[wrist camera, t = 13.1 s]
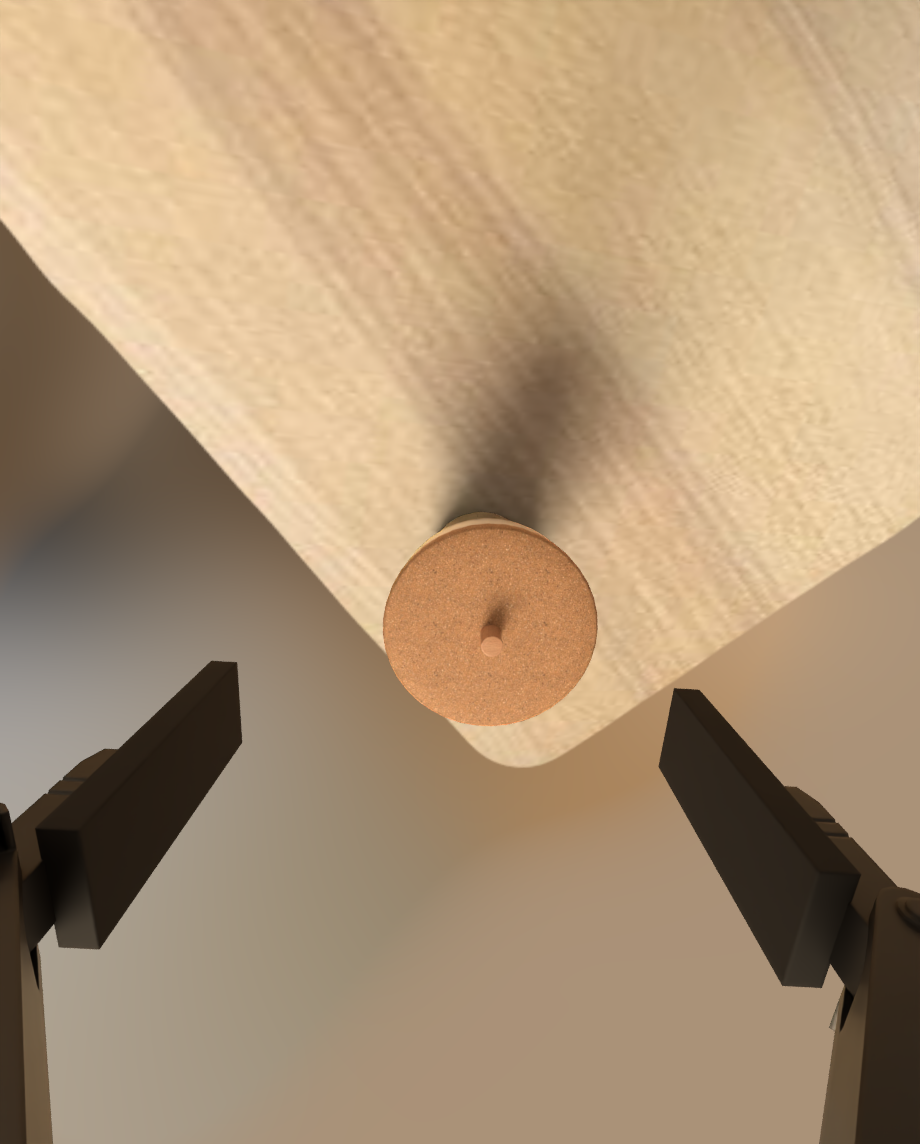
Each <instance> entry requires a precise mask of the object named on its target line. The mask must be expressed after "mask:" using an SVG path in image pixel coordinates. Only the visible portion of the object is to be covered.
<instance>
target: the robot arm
mask: <svg viewBox="0 0 920 1144" xmlns="http://www.w3.org/2000/svg"><path fill="white" fill-rule="evenodd" d="M241 743H242V732H241V716H240V700H239V685H238V670H237V662H222V661H211V662H210V663H209V664H208V665H206V667H204V668H203V669H202V670H201V671H200V672H199V673H198V674H197V675H196V676H195V677H194V678H193V679H192V680H191V681H190V682H189V683H188V684H186V685H185V686H184V687H183V688H182V689H181V690H180V691H179V692H178V693H177V694H176V695H175V696H174V697H173V698H172V699H171V700H170V701H169V702H167V703H166V704H165V705H164V706H163V707H162V708H161V709H160V710H159V711H158V712H157V713H156V714H155V715H154V716H153V717H152V718H151V719H150V720H149V721H148V722H146V723H145V724H144V725H143V726H142V727H141V728H140V729H139V730H138V731H137V732H136V733H135V734H134V735H133V736H132V737H131V738H130V739H129V740H128V741H126V742H125V743H124V744H123V745H122V746H121V747H120V748H119V749H103V750H102V751H100V752H98V753H96V754H94V755H92V756H90V757H89V758H87V759H85V760H83V761H81V762H80V763H79V764H78V765H77V766H75V767H74V768H73V769H72V770H71V771H70V772H69V773H68V774H66V776H64V777H63V780H62V781H61V780H60V781H59V782H58V783H56V784H55V785H54V786H53V787H52V788H51V789H50V790H49V792H48V794H44V795H43V796H42V797H41V798H40V799H38V800H37V801H36V802H35V803H34V804H33V805H32V806H30V807H29V808H28V809H27V810H26V811H25V812H24V813H23V814H21V815H20V816H19V817H18V818H17V819H16V820H15V821H14V822H13V823H11V819H10V814H9V811H8V809H7V807H6V805H5V804H3V803H0V1144H53V1139H52V1123H51V1111H50V1110H51V1109H50V1094H49V1079H48V1064H47V1051H46V1050H47V1049H46V1034H45V1020H44V1005H43V989H42V975H41V960H40V954H39V949H38V943H39V942H40V940H41V939H42V938H43V936H44V935H45V934H46V933H47V932H48V931H49V929H50V928H51V927H52V926H53V924H54V925H55V930H56V935H57V940H58V945H59V947H63V948H84V949H100V948H101V946H102V945H103V943H104V942H105V941H106V939H107V938H108V936H109V935H110V933H111V932H112V930H113V929H114V927H115V926H116V925H117V923H118V921H119V920H120V919H121V917H122V916H123V914H124V913H125V912H126V910H127V908H128V907H129V906H130V904H131V903H132V901H133V900H134V899H135V897H136V896H137V894H138V893H139V891H140V890H141V888H142V887H143V885H144V884H145V883H146V881H147V880H148V878H149V877H150V875H151V874H152V872H153V871H154V869H155V868H156V867H157V865H158V864H159V862H160V861H161V859H162V858H163V856H164V855H165V854H166V852H167V851H168V849H169V848H170V846H171V845H172V843H173V842H174V840H175V839H176V838H177V836H178V835H179V833H180V832H181V830H182V829H183V827H184V826H185V825H186V823H187V822H188V820H189V819H190V817H191V816H192V814H193V813H194V812H195V810H196V809H197V807H198V806H199V804H200V803H201V801H202V800H203V799H204V797H205V795H206V794H207V793H208V791H209V790H210V788H211V787H212V785H213V784H214V783H215V781H216V780H217V778H218V777H219V775H220V774H221V772H222V771H223V770H224V768H225V766H226V765H227V764H228V762H229V761H230V759H231V758H232V756H233V755H234V754H235V752H236V751H237V749H238V748H239V746H240V745H241ZM659 768H660V770H661V772H662V773H663V775H664V777H665V778H666V780H667V782H668V784H669V786H670V787H671V789H672V791H673V793H674V795H675V796H676V798H677V800H678V802H679V803H680V805H681V807H682V809H683V810H684V812H685V814H686V816H687V818H688V819H689V821H690V823H691V825H692V826H693V828H694V830H695V832H696V834H697V835H698V837H699V839H700V841H701V842H702V844H703V846H704V848H705V850H706V851H707V853H708V855H709V856H710V858H711V860H712V862H713V864H714V865H715V867H716V869H717V871H718V873H719V874H720V876H721V878H722V880H723V881H724V883H725V885H726V887H727V888H728V890H729V892H730V894H731V895H732V897H733V899H734V901H735V903H736V904H737V906H738V908H739V910H740V911H741V913H742V915H743V917H744V919H745V920H746V922H747V924H748V926H749V927H750V929H751V931H752V933H753V934H754V936H755V938H756V940H757V941H758V943H759V945H760V947H761V948H762V950H763V952H764V954H765V956H766V957H767V959H768V961H769V963H770V965H771V966H772V968H773V970H774V972H775V973H776V975H777V977H778V979H779V980H780V982H781V984H782V986H796V987H815V988H822V986H823V983H824V980H825V977H826V974H827V971H828V968H829V966H830V964H831V965H832V967H833V968H834V970H835V971H836V973H837V974H838V976H839V977H840V978H841V980H842V982H843V983H844V988H843V991H842V993H841V996H840V999H839V1002H838V1004H837V1007H836V1010H835V1012H834V1015H833V1018H832V1021H831V1023H830V1026H829V1028H830V1029H832V1030H834V1031H835V1035H834V1042H833V1050H832V1056H831V1064H830V1071H829V1079H828V1085H827V1093H826V1100H825V1106H824V1113H823V1121H822V1128H821V1135H820V1142H819V1144H920V894H919V893H917V892H914V891H911V890H909V889H906V888H900V887H897V886H896V884H895V883H894V882H893V881H892V880H891V879H890V878H889V877H888V876H887V875H886V874H885V873H884V872H883V870H882V869H881V868H879V866H878V865H877V864H876V863H875V862H874V861H873V860H872V859H871V858H870V857H869V856H868V855H867V853H866V852H865V851H864V850H863V849H862V848H861V847H860V846H859V845H858V844H857V843H856V842H855V840H854V839H853V838H850V837H849V836H848V833H847V832H846V831H845V830H844V829H843V828H842V827H841V826H840V824H839V823H836V822H835V819H834V818H833V817H832V816H831V815H830V814H829V813H828V812H827V810H826V809H825V808H823V806H822V805H821V804H820V803H819V802H818V801H816V800H815V799H813V798H812V797H810V796H809V795H808V794H806V793H805V792H803V791H802V790H800V789H799V788H797V787H788V786H783V785H782V784H781V782H780V781H779V780H778V779H777V778H776V777H775V776H774V774H773V773H772V772H771V771H770V770H769V769H768V768H767V766H766V765H765V764H764V763H763V762H762V761H761V760H760V758H759V757H758V756H757V755H756V754H755V753H754V752H753V750H752V749H751V748H750V747H749V746H748V745H747V744H746V742H745V741H744V740H743V739H742V738H741V737H740V736H739V735H738V733H737V732H736V731H735V730H734V729H733V728H732V727H731V725H730V724H729V723H728V722H727V721H726V720H725V719H724V717H723V716H722V715H721V714H720V713H719V712H718V711H717V709H716V708H715V707H714V706H713V705H712V704H711V703H710V701H709V700H708V699H707V698H706V697H705V696H704V695H703V694H702V692H701V691H700V690H694V689H693V690H692V689H677V688H674V691H673V696H672V701H671V707H670V712H669V717H668V721H667V727H666V732H665V737H664V742H663V747H662V752H661V757H660V762H659Z"/></svg>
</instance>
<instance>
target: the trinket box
mask: <svg viewBox="0 0 920 1144" xmlns="http://www.w3.org/2000/svg"><path fill="white" fill-rule="evenodd" d="M597 629H598V628H597V611H596V606H595V602H594V597H593V595H592V592H591V590H590V587H589V585H588V582H587V581H586V579H585V578H584V576H583V574H582V573H581V571H580V569H579V568H578V567H577V565H576V564H575V563H574V562H573V561H572V560H571V559H570V557H569V556H568V555H567V554H566V553H565V552H564V551H562V550H561V549H560V548H559V547H558V546H556V545H555V544H554V543H553V542H551V541H550V540H548V539H547V538H546V537H545V536H543V535H542V534H540V533H538V532H536V531H535V530H533V529H531V528H529V527H526V526H524V525H521V524H518V523H516V522H512V521H507V520H503V519H491V518H483V519H473V520H468V521H464V522H460V523H457V524H454V525H452V526H450V527H448V528H445V529H443V530H442V531H440V532H438V533H437V534H435V535H434V536H432V537H431V538H429V539H428V540H427V541H426V542H425V543H424V544H423V545H422V546H420V547H419V548H418V549H417V550H416V552H415V553H414V554H413V555H412V557H411V558H410V559H409V560H408V562H407V564H406V565H405V566H404V567H403V569H402V570H401V571H400V573H399V575H398V577H397V578H396V580H395V582H394V584H393V586H392V588H391V591H390V594H389V597H388V599H387V602H386V607H385V613H384V618H383V636H384V643H385V649H386V652H387V655H388V658H389V661H390V664H391V666H392V668H393V670H394V672H395V674H396V676H397V677H398V679H399V680H400V682H401V683H402V684H403V686H404V687H405V688H406V690H407V691H408V692H409V693H410V694H411V695H412V696H413V697H414V698H416V699H417V700H418V701H419V702H420V703H422V704H423V705H424V706H426V707H427V708H429V709H430V710H432V711H434V712H436V713H438V714H439V715H441V716H443V717H446V718H449V719H452V720H454V721H457V722H461V723H466V724H471V725H481V726H497V725H507V724H512V723H516V722H520V721H524V720H526V719H529V718H531V717H534V716H537V715H539V714H540V713H542V712H544V711H546V710H548V709H549V708H551V707H553V706H554V705H555V704H556V703H558V702H559V701H560V700H562V699H563V698H564V697H565V696H566V695H567V694H568V693H569V692H570V691H571V690H572V689H573V688H574V687H575V686H576V684H577V683H578V681H579V680H580V678H581V677H582V676H583V674H584V672H585V670H586V668H587V666H588V664H589V662H590V660H591V658H592V654H593V651H594V648H595V644H596V637H597Z"/></svg>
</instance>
